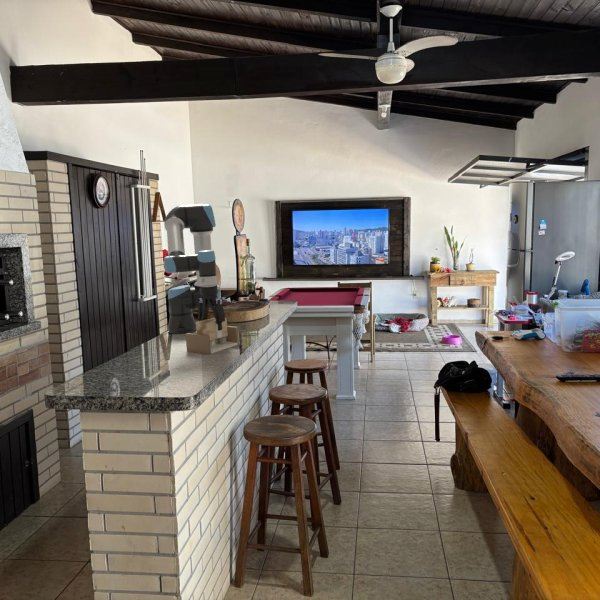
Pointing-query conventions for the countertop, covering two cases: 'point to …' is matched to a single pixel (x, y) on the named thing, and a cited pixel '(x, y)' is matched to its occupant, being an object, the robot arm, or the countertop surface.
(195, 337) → the peg stand
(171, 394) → the countertop surface
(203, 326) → the shelf block
